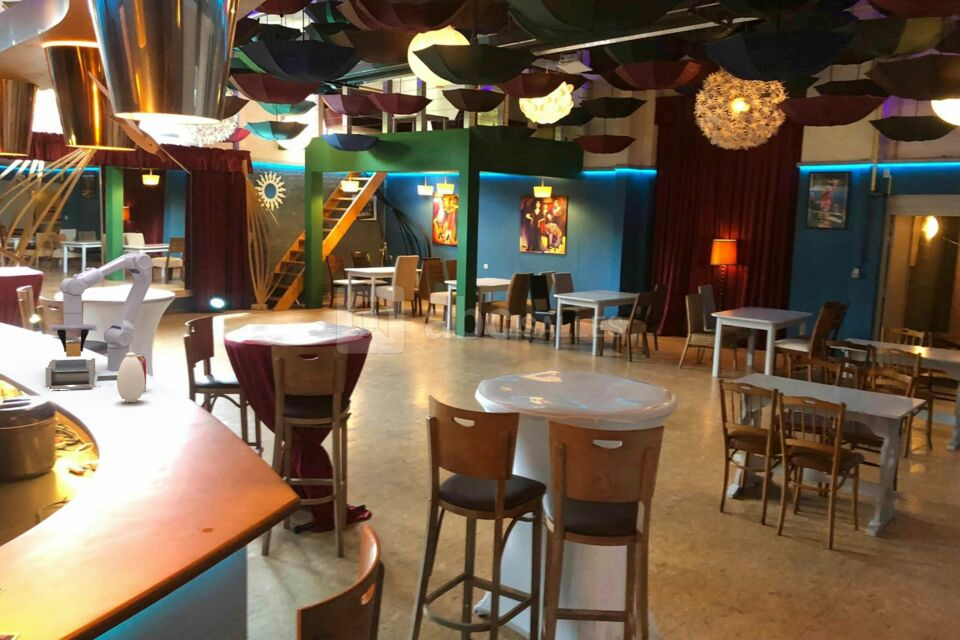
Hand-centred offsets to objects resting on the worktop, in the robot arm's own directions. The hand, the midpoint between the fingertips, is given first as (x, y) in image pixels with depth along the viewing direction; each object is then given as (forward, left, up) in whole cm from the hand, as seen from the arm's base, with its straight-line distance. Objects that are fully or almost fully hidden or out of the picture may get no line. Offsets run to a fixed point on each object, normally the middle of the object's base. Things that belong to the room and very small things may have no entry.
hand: (73, 351), depth 272 cm
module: (0, 0, -2) cm, 2 cm away
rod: (+22, +6, -9) cm, 24 cm away
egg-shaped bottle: (+39, +29, -9) cm, 49 cm away
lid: (+11, +3, -3) cm, 12 cm away
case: (+7, +2, -9) cm, 11 cm away
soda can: (+23, +26, -9) cm, 36 cm away
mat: (+5, +14, -9) cm, 17 cm away
